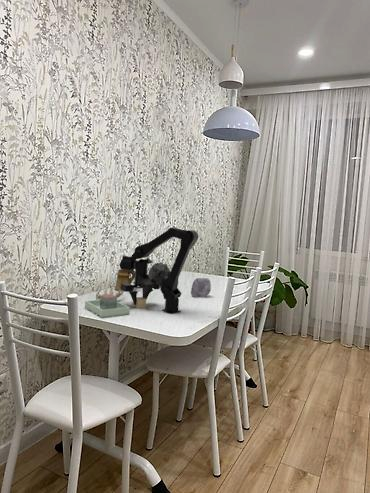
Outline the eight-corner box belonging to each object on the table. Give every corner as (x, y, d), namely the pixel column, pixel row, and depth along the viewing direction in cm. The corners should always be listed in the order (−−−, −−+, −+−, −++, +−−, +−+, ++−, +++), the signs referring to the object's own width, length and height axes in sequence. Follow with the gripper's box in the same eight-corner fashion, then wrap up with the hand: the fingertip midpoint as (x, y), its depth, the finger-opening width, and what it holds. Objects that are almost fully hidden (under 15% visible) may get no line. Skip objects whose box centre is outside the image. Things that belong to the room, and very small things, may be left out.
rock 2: (205, 295, 218) (206, 277, 217) (210, 297, 213) (211, 279, 212) (189, 296, 213) (190, 277, 212) (194, 298, 209) (195, 279, 208)
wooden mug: (136, 292, 214) (138, 260, 212) (112, 290, 215) (114, 258, 213) (139, 289, 223) (141, 258, 221) (117, 287, 224) (118, 257, 222)
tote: (129, 314, 168) (129, 307, 168) (101, 318, 160) (102, 310, 160) (110, 305, 182) (111, 298, 182) (84, 307, 174) (85, 301, 174)
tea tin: (116, 310, 171) (117, 296, 170) (105, 311, 168) (105, 297, 167) (110, 307, 175) (111, 294, 175) (99, 309, 172) (100, 295, 171)
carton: (145, 307, 183) (146, 298, 183) (137, 308, 181) (138, 299, 180) (141, 305, 187) (141, 296, 187) (132, 305, 184) (133, 297, 184)
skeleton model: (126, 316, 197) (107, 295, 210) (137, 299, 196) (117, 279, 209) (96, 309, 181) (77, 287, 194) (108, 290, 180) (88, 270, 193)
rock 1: (170, 288, 231) (172, 264, 229) (147, 287, 229) (149, 263, 227) (168, 283, 247) (169, 260, 246) (146, 282, 245) (148, 259, 244)
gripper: (132, 275, 170) (130, 310, 172) (166, 273, 182) (165, 306, 183) (120, 271, 179) (119, 304, 180) (154, 270, 190) (152, 301, 192)
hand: (139, 304), depth 184 cm, fingers closed on carton, 4 cm apart
